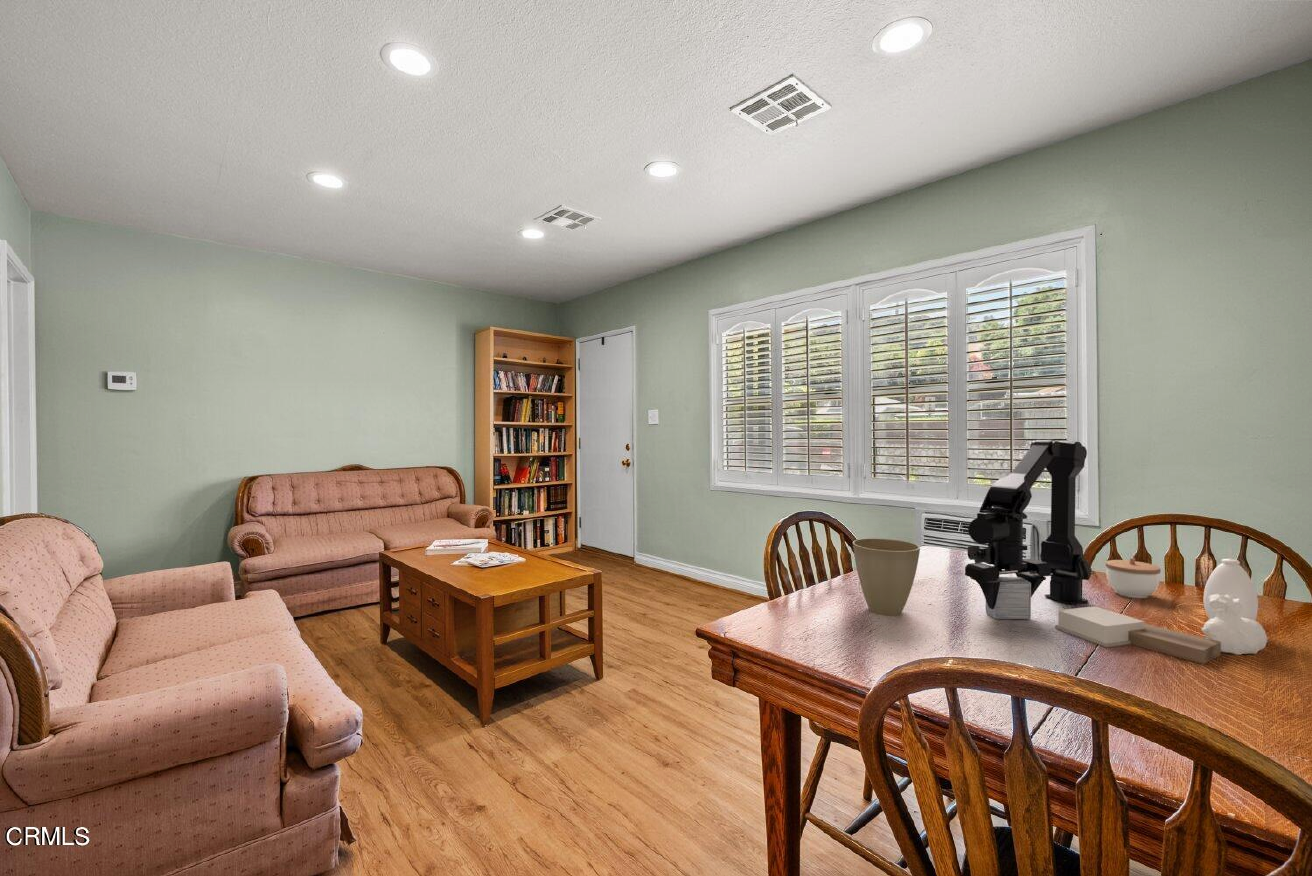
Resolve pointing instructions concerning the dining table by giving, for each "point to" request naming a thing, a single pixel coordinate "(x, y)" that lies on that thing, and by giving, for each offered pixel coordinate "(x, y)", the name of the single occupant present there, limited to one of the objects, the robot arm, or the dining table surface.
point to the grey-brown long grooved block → (1175, 643)
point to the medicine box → (1012, 599)
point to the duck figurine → (1233, 627)
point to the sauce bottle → (1232, 587)
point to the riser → (1098, 625)
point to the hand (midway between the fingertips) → (1007, 607)
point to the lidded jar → (1133, 577)
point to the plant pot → (886, 572)
